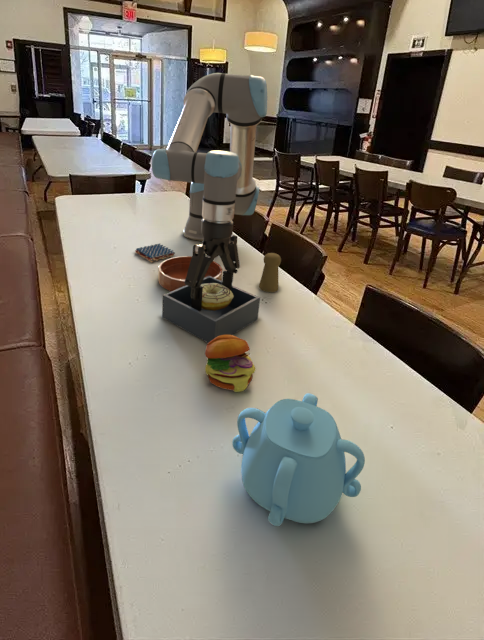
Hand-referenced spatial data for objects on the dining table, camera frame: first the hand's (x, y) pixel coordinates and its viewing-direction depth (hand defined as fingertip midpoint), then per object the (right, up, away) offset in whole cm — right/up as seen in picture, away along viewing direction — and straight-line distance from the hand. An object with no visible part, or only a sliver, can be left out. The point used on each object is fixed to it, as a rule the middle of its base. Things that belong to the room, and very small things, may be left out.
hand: (211, 301), depth 105 cm
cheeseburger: (+4, -14, -19) cm, 24 cm away
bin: (0, -5, +2) cm, 5 cm away
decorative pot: (+13, -23, -42) cm, 50 cm away
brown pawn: (+17, +2, +22) cm, 27 cm away
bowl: (-7, +4, +21) cm, 23 cm away
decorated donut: (0, 0, 0) cm, 0 cm away
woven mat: (-21, +12, +39) cm, 46 cm away
